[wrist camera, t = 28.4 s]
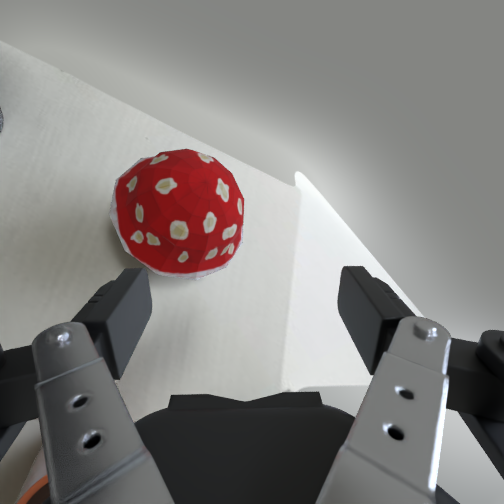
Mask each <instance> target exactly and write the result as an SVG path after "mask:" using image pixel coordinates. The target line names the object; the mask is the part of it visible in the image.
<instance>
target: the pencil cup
mask: <svg viewBox="0 0 504 504" xmlns="http://www.w3.org/2000/svg"><path fill="white" fill-rule="evenodd" d="M49 496H50V490H49V483H48V477H47V470H46V464H45V457H44V450H43V445H42V447H41V448H40V450H39V452H38V454H37V456H36V458H35V461H34V463H33V465H32V467H31V469H30V471H29V474H28V476H27V478H26V480H25V482H24V485H23V487H22V489H21V491H20V493H19V496H18V498H17V500H16V502H15V504H41V503H43V502H44V501H45V500H46V499H47V498H48V497H49Z"/></svg>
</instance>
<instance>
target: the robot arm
mask: <svg viewBox="0 0 504 504" xmlns="http://www.w3.org/2000/svg"><path fill="white" fill-rule="evenodd" d="M2 126H3V115H2V111H1V108H0V131H1V129H2ZM338 311H339V314H340V316H341V318H342V320H343V322H344V324H345V326H346V328H347V330H348V332H349V334H350V336H351V338H352V340H353V342H354V344H355V346H356V348H357V350H358V352H359V354H360V356H361V357H362V359H363V361H364V363H365V365H366V367H367V369H368V371H369V373H370V375H374V376H373V378H372V381H371V383H370V385H369V388H368V390H367V392H366V395H365V397H364V399H363V402H362V404H361V406H360V408H359V411H358V413H357V416H356V418H355V417H353V416H352V415H350V414H348V413H346V412H344V411H342V410H340V409H337V408H335V407H331V406H328V405H324V404H322V400H321V397H320V393H319V392H283V393H279V394H275V395H271V396H267V397H263V398H259V399H256V400H252V401H246V402H244V401H238V400H234V399H229V398H224V397H219V396H214V395H210V394H192V395H171V398H170V401H169V405H168V408H165V409H162V410H159V411H156V412H153V413H151V414H149V415H147V416H145V417H143V418H142V419H140V420H138V421H137V422H135V423H134V422H133V420H132V418H131V416H130V414H129V412H128V410H127V407H126V405H125V403H124V401H123V399H122V397H121V395H120V392H119V390H118V388H117V386H116V384H115V382H114V380H120V378H121V376H122V374H123V372H124V370H125V368H126V366H127V364H128V362H129V360H130V358H131V356H132V354H133V352H134V350H135V347H136V345H137V343H138V341H139V339H140V337H141V335H142V333H143V331H144V329H145V327H146V325H147V323H148V321H149V318H150V316H151V313H152V298H151V292H150V286H149V280H148V274H147V271H146V269H145V268H126V269H124V270H123V272H122V273H121V274H120V275H119V276H118V278H117V279H116V280H113V281H110V282H108V283H107V284H105V285H103V286H102V287H100V288H99V289H98V291H97V292H96V293H95V294H94V296H93V297H91V299H90V300H89V301H88V303H86V304H85V305H84V307H83V308H82V309H81V310H80V311H79V312H78V313H77V315H76V316H75V317H74V318H73V319H72V320H71V321H70V322H66V323H61V324H58V325H55V326H52V327H50V328H48V329H46V330H44V331H43V332H41V333H40V334H39V335H37V336H36V338H35V339H34V340H33V342H32V345H29V346H25V347H20V348H15V349H11V350H6V351H3V349H2V347H1V344H0V461H1V460H2V458H3V457H4V455H5V454H6V452H7V451H8V449H9V448H10V446H11V445H12V443H13V442H14V440H15V439H16V437H17V436H18V434H19V433H20V431H21V430H22V428H23V427H24V425H25V423H26V422H27V421H29V420H33V419H36V418H39V424H40V430H41V437H42V444H43V450H44V457H45V464H46V470H47V477H48V483H49V490H50V496H49V497H48V498H47V499H46V500H45V501H44V502H43V503H41V504H460V503H459V502H457V501H456V500H455V499H454V498H453V497H451V496H450V495H449V494H448V493H447V492H445V491H444V490H443V489H442V488H441V487H439V486H438V485H437V484H436V479H437V471H438V463H439V456H440V448H441V440H442V432H443V425H444V417H445V409H451V410H455V411H458V413H459V414H460V416H461V417H462V419H463V420H464V422H465V423H466V425H467V426H468V428H469V429H470V431H471V432H472V434H473V435H474V437H475V438H476V439H477V441H478V442H479V444H480V445H481V447H482V448H483V450H484V451H485V453H486V454H487V456H488V457H489V458H490V460H491V461H492V463H493V465H494V466H495V468H496V469H497V470H498V472H499V473H500V475H501V476H502V478H503V479H504V331H499V330H488V331H485V332H483V333H482V335H481V337H480V340H479V342H478V343H477V342H471V341H466V340H461V339H455V338H451V335H450V333H449V332H448V331H447V329H446V328H444V327H443V326H442V325H440V324H438V323H437V322H435V321H432V320H430V319H427V318H423V317H417V316H416V315H415V314H414V313H413V312H412V311H411V310H410V309H409V308H408V306H407V305H406V304H405V303H404V302H403V301H402V300H401V299H399V297H398V295H397V294H396V293H394V291H393V290H392V289H391V288H390V287H389V285H388V284H386V283H385V282H383V281H381V280H380V279H378V278H373V277H372V276H371V275H370V274H369V272H368V271H367V270H366V269H365V268H364V267H363V266H344V267H343V268H342V272H341V278H340V286H339V293H338Z"/></svg>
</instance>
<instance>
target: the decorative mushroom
mask: <svg viewBox="0 0 504 504" xmlns="http://www.w3.org/2000/svg"><path fill="white" fill-rule="evenodd" d="M109 215H110V218H111V220H112V222H113V224H114V227H115V229H116V231H117V234H118V236H119V238H120V241H121V243H122V245H123V248H124V250H125V251H126V252H128V253H129V254H130V255H132V256H133V257H134V258H136V259H137V260H138V261H140V262H141V263H142V264H144V265H145V266H147V267H148V268H149V269H151V270H152V271H153V272H155V273H156V274H157V275H163V276H170V277H177V278H184V279H191V280H197V279H199V278H202V277H204V276H207V275H209V274H211V273H214V272H216V271H218V270H221V269H223V268H226V266H227V265H228V263H229V262H230V260H231V259H232V257H233V256H234V254H235V253H236V251H237V250H238V248H239V247H240V245H241V244H242V236H243V215H244V198H243V196H242V194H241V192H240V190H239V188H238V185H237V183H236V181H235V179H234V177H233V175H232V173H231V172H230V171H229V170H227V169H226V168H225V167H224V166H223V165H222V164H221V163H220V162H218V161H217V160H216V159H215V158H214V157H211V156H208V155H205V154H202V153H199V152H196V151H193V150H189V149H182V150H174V151H167V152H160V153H159V154H158V155H156V156H155V157H148V158H141V159H140V160H139V161H137V162H136V163H135V164H134V165H133V166H132V167H131V168H129V169H128V170H127V171H126V172H125V173H124V174H122V175H121V176H120V177H119V178H118V179H117V180H116V183H115V188H114V193H113V197H112V202H111V207H110V212H109Z"/></svg>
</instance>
